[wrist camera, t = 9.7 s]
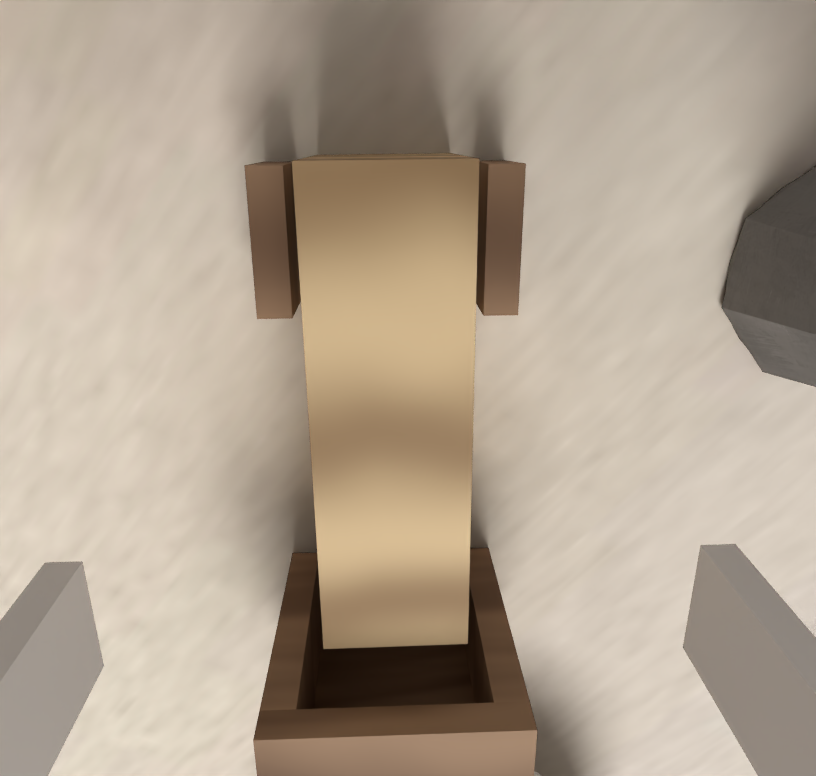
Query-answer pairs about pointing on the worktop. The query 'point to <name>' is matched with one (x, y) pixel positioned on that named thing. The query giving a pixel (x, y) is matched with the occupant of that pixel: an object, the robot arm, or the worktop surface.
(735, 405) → the worktop surface
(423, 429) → the light wooden block
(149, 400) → the worktop surface
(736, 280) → the coffeepot
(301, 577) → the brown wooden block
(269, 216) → the pair of brown blocks
